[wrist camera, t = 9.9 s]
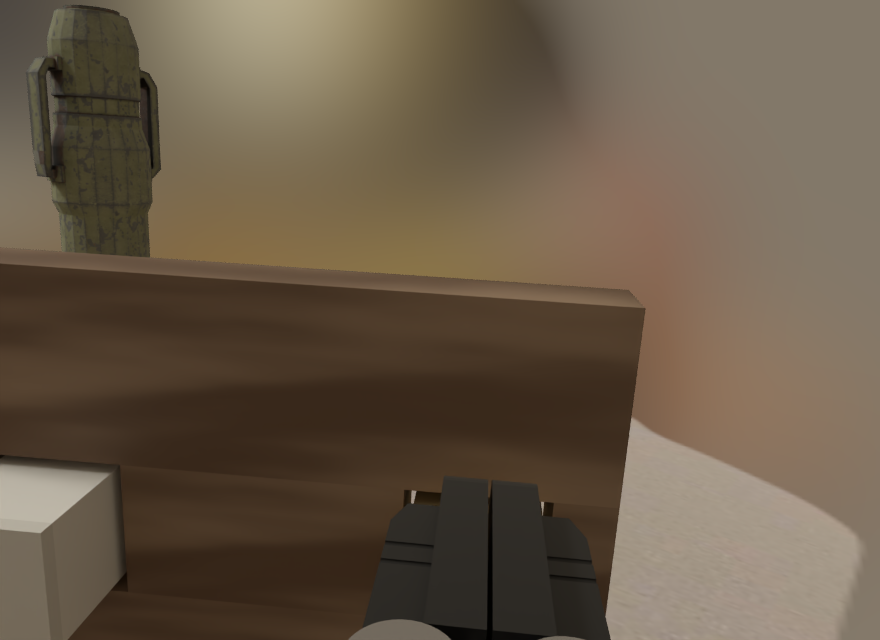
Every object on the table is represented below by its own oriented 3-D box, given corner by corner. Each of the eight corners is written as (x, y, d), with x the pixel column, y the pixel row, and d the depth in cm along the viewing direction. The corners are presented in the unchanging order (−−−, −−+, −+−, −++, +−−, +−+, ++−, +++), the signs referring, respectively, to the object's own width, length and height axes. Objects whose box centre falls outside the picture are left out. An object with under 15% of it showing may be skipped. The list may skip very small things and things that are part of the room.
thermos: (190, 367, 75) (178, 20, 67) (93, 399, 65) (64, -6, 57) (133, 352, 79) (114, 22, 71) (33, 380, 69) (-3, -2, 60)
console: (581, 795, 28) (645, 308, 23) (-39, 725, 29) (-105, 256, 24) (563, 661, 35) (609, 269, 30) (66, 611, 37) (33, 231, 32)
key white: (52, 657, 23) (40, 533, 22) (-80, 643, 23) (-98, 520, 22) (159, 533, 30) (154, 436, 29) (58, 524, 31) (49, 427, 30)
